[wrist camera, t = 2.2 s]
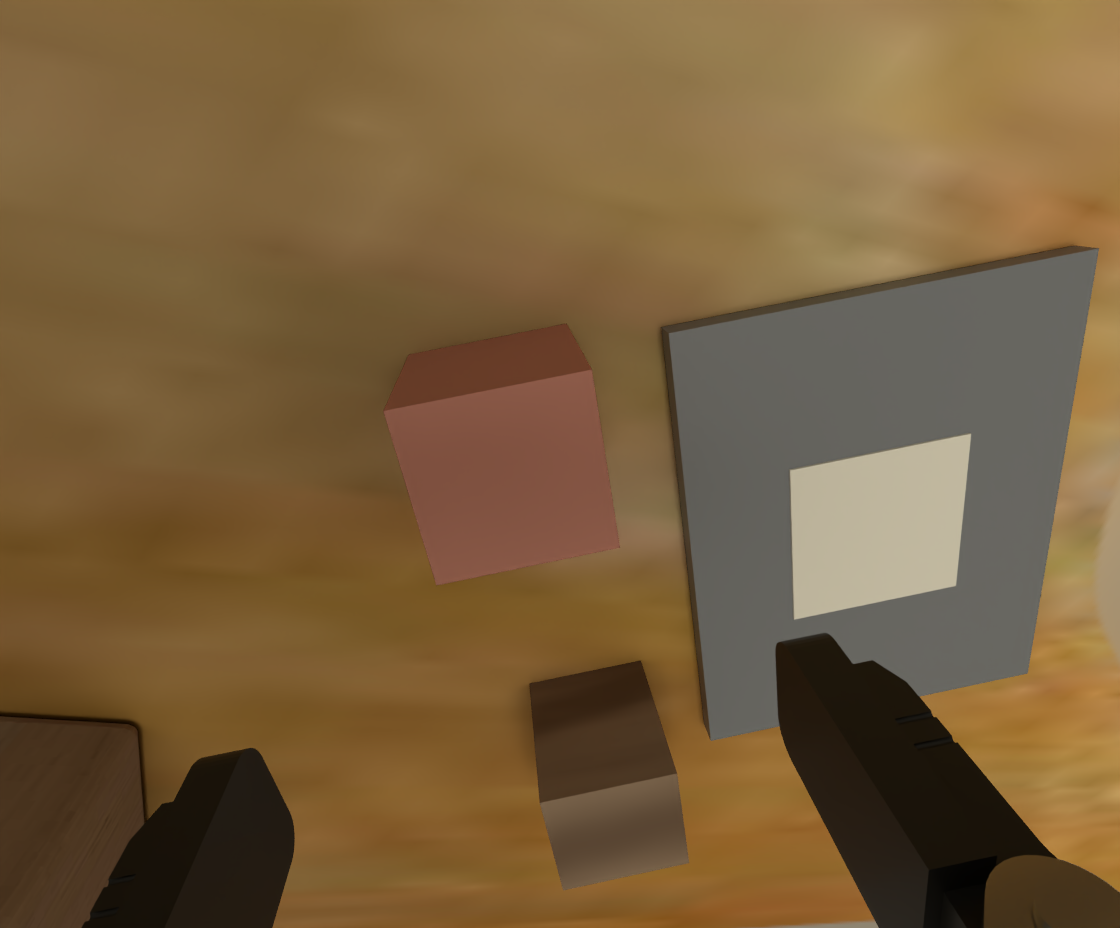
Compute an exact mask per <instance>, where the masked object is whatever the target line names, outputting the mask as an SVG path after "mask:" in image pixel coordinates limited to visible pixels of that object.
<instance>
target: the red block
mask: <svg viewBox="0 0 1120 928" xmlns="http://www.w3.org/2000/svg"><path fill="white" fill-rule="evenodd" d="M383 412H384V415H385V418H386V422H387V425H388V428H389V431H390V435H391V438H392V441H393V444H394V448H395V451H396V454H397V458H398V461H399V464H400V467H401V471H402V474H403V477H404V480H405V484H406V487H407V490H408V494H409V497H410V500H411V503H412V507H413V510H414V513H415V516H416V520H417V523H418V526H419V530H420V533H421V536H422V539H423V543H424V546H425V549H426V552H427V556H428V559H429V562H430V566H431V569H432V572H433V575H434V579H435V582H436V585H441V584H445V583H450V582H455V581H460V580H465V579H470V578H475V577H480V576H484V575H489V574H494V573H499V572H504V571H509V570H514V569H518V568H523V567H528V566H533V565H538V564H543V563H548V562H552V561H557V560H562V559H567V558H572V557H577V556H582V555H586V554H591V553H596V552H601V551H606V550H611V549H616V548H620V545H619V538H618V532H617V526H616V519H615V513H614V507H613V500H612V494H611V488H610V481H609V475H608V469H607V462H606V456H605V450H604V443H603V437H602V431H601V424H600V418H599V412H598V405H597V399H596V393H595V386H594V380H593V374H592V369H591V367H590V365H589V364H588V362H587V360H586V358H585V356H584V355H583V353H582V351H581V349H580V347H579V346H578V344H577V342H576V340H575V338H574V336H573V335H572V333H571V331H570V329H569V327H568V326H567V324H562V325H557V326H552V327H547V328H542V329H537V330H532V331H526V332H521V333H516V334H511V335H506V336H501V337H496V338H491V339H486V340H481V341H476V342H471V343H465V344H460V345H455V346H450V347H445V348H440V349H435V350H430V351H425V352H420V353H415V354H410V355H408V357H407V360H406V362H405V364H404V366H403V369H402V371H401V373H400V375H399V377H398V380H397V382H396V384H395V386H394V389H393V391H392V393H391V395H390V397H389V400H388V402H387V404H386V406H385V409H384V411H383Z"/></svg>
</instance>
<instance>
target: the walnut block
mask: <svg viewBox="0 0 1120 928" xmlns="http://www.w3.org/2000/svg"><path fill="white" fill-rule="evenodd" d="M530 695H531V706H532V718H533V730H534V741H535V753H536V764H537V776H538V787H539V799H540V805H541V809H542V813H543V817H544V820H545V824H546V828H547V831H548V835H549V839H550V843H551V846H552V850H553V854H554V858H555V861H556V865H557V869H558V873H559V876H560V880H561V884H562V887H563V890H567V889H572V888H576V887H581V886H585V885H590V884H594V883H599V882H604V881H608V880H613V879H617V878H622V877H627V876H631V875H636V874H640V873H645V872H650V871H654V870H659V869H663V868H668V867H672V866H677V865H682V864H686V863H689V859H688V852H687V844H686V837H685V829H684V822H683V814H682V807H681V799H680V792H679V785H678V777H677V772H676V769H675V766H674V763H673V760H672V756H671V753H670V750H669V747H668V744H667V741H666V738H665V735H664V732H663V728H662V725H661V722H660V719H659V716H658V713H657V710H656V707H655V704H654V700H653V697H652V694H651V691H650V688H649V685H648V682H647V679H646V676H645V672H644V669H643V666H642V663H641V661H636V662H631V663H627V664H622V665H617V666H612V667H607V668H603V669H598V670H593V671H588V672H583V673H578V674H574V675H569V676H564V677H559V678H554V679H550V680H545V681H540V682H535V683H530Z"/></svg>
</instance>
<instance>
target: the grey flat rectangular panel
mask: <svg viewBox="0 0 1120 928" xmlns="http://www.w3.org/2000/svg"><path fill="white" fill-rule="evenodd" d="M1098 251H1099V248H1091V247H1082V246H1071V247H1066V248H1060V249H1055V250H1050V251H1045V252H1040V253H1035V254H1030V255H1025V256H1020V257H1015V258H1010V259H1005V260H1000V261H995V262H989V263H984V264H979V265H974V266H969V267H964V268H959V269H954V270H949V271H944V272H939V273H934V274H929V275H924V276H918V277H913V278H908V279H903V280H898V281H893V282H888V283H883V284H878V285H873V286H868V287H863V288H858V289H853V290H847V291H842V292H837V293H832V294H827V295H822V296H817V297H812V298H807V299H802V300H797V301H792V302H787V303H782V304H776V305H771V306H766V307H761V308H756V309H751V310H746V311H741V312H736V313H731V314H726V315H721V316H716V317H711V318H705V319H700V320H695V321H690V322H685V323H680V324H675V325H670V326H665V327H661V328H662V338H663V347H664V356H665V365H666V375H667V384H668V393H669V402H670V412H671V421H672V430H673V440H674V449H675V458H676V467H677V477H678V486H679V495H680V505H681V514H682V523H683V532H684V542H685V551H686V560H687V569H688V579H689V588H690V597H691V607H692V616H693V625H694V634H695V644H696V653H697V662H698V672H699V681H700V690H701V699H702V709H703V718H704V725H705V727H706V730H707V732H708V735H709V737H710V740H711V741H712V740H717V739H722V738H726V737H731V736H736V735H740V734H745V733H750V732H754V731H759V730H764V729H769V728H773V727H778V726H780V725H779V720H778V706H777V682H776V658H775V649H776V644H777V643H778V642H781V641H786V640H791V639H796V638H801V637H805V636H810V635H815V634H820V633H828V634H830V635H831V636H832V637H833V638H834V640H835V641H836V642H837V643H838V645H839V646H840V647H841V649H842V650H843V651H844V653H845V654H846V655H847V657H848V658H849V659H850V661H851V662H852V663H853V664H856V663H861V662H866V661H871V660H873V661H875V662H876V663H878V664H880V665H881V666H883V667H884V668H886V669H887V670H889V671H890V672H892V673H894V674H895V675H897V676H898V677H900V678H901V679H903V680H905V681H906V682H907V683H908V684H909V685H910V686H911V688H912V689H913V690H914V691H915V692H916V694H917V695H918V696H924V695H928V694H933V693H938V692H942V691H947V690H952V689H957V688H961V687H966V686H971V685H975V684H980V683H985V682H989V681H994V680H999V679H1004V678H1008V677H1013V676H1018V675H1022V674H1027V673H1028V668H1029V662H1030V656H1031V650H1032V644H1033V638H1034V632H1035V626H1036V620H1037V614H1038V608H1039V602H1040V596H1041V590H1042V584H1043V578H1044V572H1045V566H1046V560H1047V555H1048V549H1049V543H1050V537H1051V531H1052V525H1053V519H1054V513H1055V507H1056V501H1057V495H1058V489H1059V483H1060V477H1061V471H1062V465H1063V459H1064V453H1065V447H1066V441H1067V435H1068V429H1069V424H1070V418H1071V412H1072V406H1073V400H1074V394H1075V388H1076V382H1077V376H1078V370H1079V364H1080V358H1081V352H1082V346H1083V340H1084V334H1085V328H1086V322H1087V316H1088V310H1089V304H1090V298H1091V293H1092V287H1093V281H1094V275H1095V269H1096V263H1097V257H1098Z"/></svg>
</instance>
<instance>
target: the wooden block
mask: <svg viewBox="0 0 1120 928" xmlns="http://www.w3.org/2000/svg"><path fill="white" fill-rule="evenodd" d="M144 824H145V823H144V810H143V797H142V784H141V771H140V758H139V744H138V731H137V730H136V728H135V727H133V726H131V725H129V724H117V723H101V722H84V721H68V720H51V719H35V718H18V717H2V716H0V928H82V926H83V924H84V922H86V921H89V919H90V911H91V910H92V908H93V906H94V904H95V902H96V900H97V899H98V897H99V895H100V893H101V891H102V890H103V888H104V887H107V886H108V884H109V881H108V879H109V877H110V875H111V873H112V871H113V870H114V868H115V866H116V864H117V862H118V860H119V859H120V857H121V855H122V853H123V851H124V850H125V848H126V846H127V844H128V842H129V841H130V839H131V838H132V837H133V836H134V835H135V834H136V833H137V831H138V830H139V829H140V828H141V827H142V826H143V825H144Z"/></svg>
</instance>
